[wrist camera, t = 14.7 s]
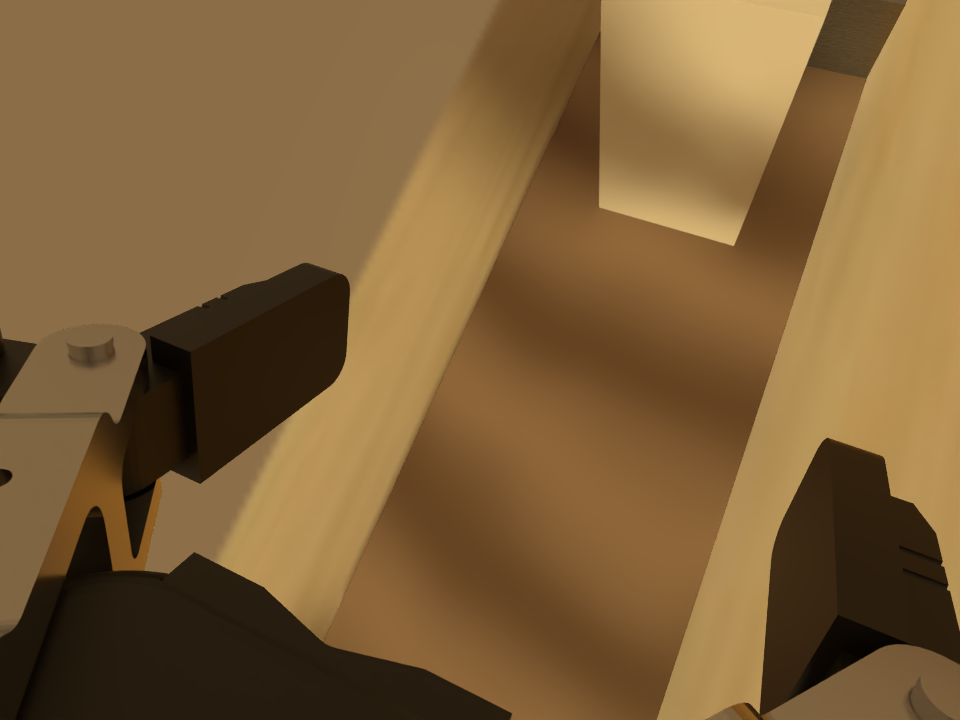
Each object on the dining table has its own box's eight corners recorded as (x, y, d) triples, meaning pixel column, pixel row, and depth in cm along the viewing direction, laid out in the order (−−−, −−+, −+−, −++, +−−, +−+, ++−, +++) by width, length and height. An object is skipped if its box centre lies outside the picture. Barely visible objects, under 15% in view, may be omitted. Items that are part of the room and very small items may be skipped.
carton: (733, 246, 21) (825, 17, 13) (599, 207, 22) (601, -26, 14) (791, 87, 23) (908, -212, 14) (661, 59, 24) (698, -233, 15)
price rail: (613, 2, 25) (615, -73, 22) (874, 54, 23) (914, -23, 20) (603, 23, 25) (604, -50, 22) (866, 78, 22) (905, 4, 19)
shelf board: (610, 38, 26) (611, 6, 25) (856, 90, 24) (872, 59, 22) (334, 655, 21) (315, 660, 19) (620, 805, 18) (622, 823, 17)
